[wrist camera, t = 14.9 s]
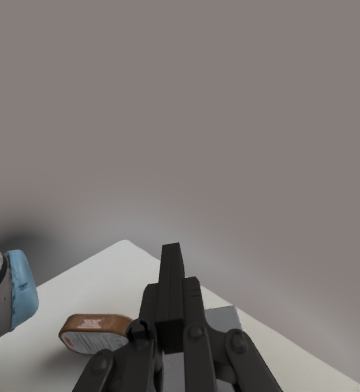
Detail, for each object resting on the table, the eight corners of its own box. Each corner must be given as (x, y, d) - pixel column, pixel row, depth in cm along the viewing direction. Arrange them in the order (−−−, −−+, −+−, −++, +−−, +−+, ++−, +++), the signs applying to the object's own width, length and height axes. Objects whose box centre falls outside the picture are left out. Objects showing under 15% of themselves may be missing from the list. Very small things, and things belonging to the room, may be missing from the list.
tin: (147, 341, 31) (136, 310, 29) (142, 362, 29) (128, 330, 26) (78, 339, 34) (62, 310, 31) (67, 358, 31) (47, 328, 28)
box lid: (148, 322, 22) (146, 318, 22) (235, 308, 22) (234, 304, 21) (117, 574, 10) (112, 574, 9) (318, 552, 9) (320, 551, 9)
